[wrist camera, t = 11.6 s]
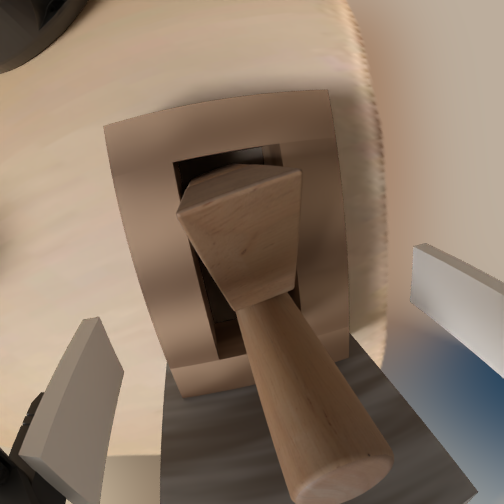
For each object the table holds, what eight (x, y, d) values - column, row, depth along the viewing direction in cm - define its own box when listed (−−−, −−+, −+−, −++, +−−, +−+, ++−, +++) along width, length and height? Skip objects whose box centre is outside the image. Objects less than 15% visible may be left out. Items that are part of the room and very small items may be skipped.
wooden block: (236, 161, 21) (388, 173, 4) (279, 291, 25) (397, 480, 8) (187, 179, 21) (143, 262, 4) (237, 307, 24) (305, 521, 7)
